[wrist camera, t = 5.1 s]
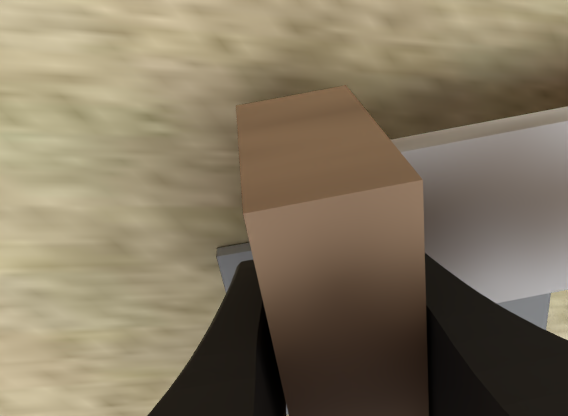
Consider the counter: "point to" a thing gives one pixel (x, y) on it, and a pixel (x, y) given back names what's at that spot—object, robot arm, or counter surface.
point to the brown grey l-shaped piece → (389, 237)
